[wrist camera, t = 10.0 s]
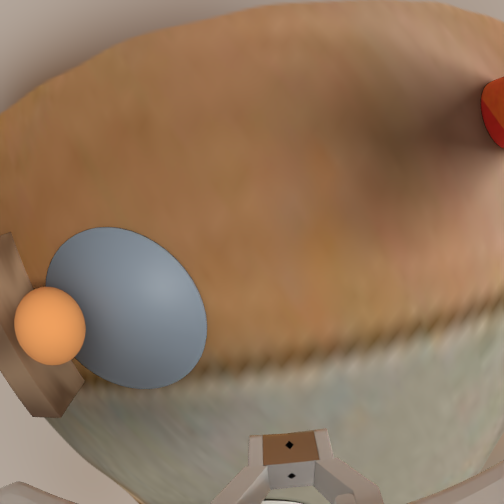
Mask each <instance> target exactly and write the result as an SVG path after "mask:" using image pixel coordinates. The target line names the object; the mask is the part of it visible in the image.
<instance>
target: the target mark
mask: <svg viewBox="0 0 504 504" xmlns="http://www.w3.org/2000/svg"><path fill="white" fill-rule="evenodd" d="M46 287H54V288H58V289H60V290H63V291H64V292H66V293H67V294H69V295H70V296H71V297H72V298H73V299H74V300H75V301H76V302H77V304H78V305H79V307H80V309H81V311H82V313H83V316H84V319H85V325H86V333H85V339H84V343H83V345H82V347H81V349H80V351H79V352H78V354H77V355H76V356H75V358H76V359H77V360H78V361H79V362H80V363H81V364H82V365H84V366H85V367H86V368H87V369H89V370H90V371H92V372H93V373H95V374H96V375H98V376H100V377H101V378H103V379H105V380H108V381H110V382H112V383H115V384H118V385H121V386H125V387H130V388H137V389H153V388H160V387H164V386H168V385H170V384H172V383H175V382H177V381H178V380H180V379H182V378H183V377H185V376H186V375H187V374H188V373H189V372H190V371H191V370H192V369H193V368H194V367H195V365H196V364H197V362H198V361H199V359H200V357H201V355H202V352H203V350H204V347H205V342H206V337H207V320H206V313H205V308H204V304H203V301H202V299H201V296H200V293H199V291H198V289H197V287H196V285H195V284H194V282H193V280H192V278H191V277H190V275H189V274H188V273H187V271H186V270H185V268H184V267H183V266H182V265H181V264H180V263H179V262H178V260H177V259H176V258H175V257H173V256H172V255H171V254H170V253H169V252H168V251H167V250H166V249H164V248H163V247H161V246H160V245H159V244H157V243H156V242H154V241H152V240H151V239H149V238H147V237H145V236H143V235H141V234H138V233H135V232H133V231H130V230H126V229H121V228H114V227H99V228H93V229H89V230H86V231H83V232H81V233H78V234H76V235H75V236H73V237H72V238H70V239H68V240H67V241H66V242H65V243H64V244H63V245H62V246H61V247H60V248H59V250H58V251H57V252H56V253H55V255H54V257H53V259H52V261H51V263H50V266H49V269H48V272H47V277H46Z"/></svg>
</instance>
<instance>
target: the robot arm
mask: <svg viewBox="0 0 504 504" xmlns="http://www.w3.org/2000/svg"><path fill="white" fill-rule="evenodd" d="M311 485H313V486H314V487H315V488H316V489H317V490H318V491H319V492H320V493H321V494H322V495H323V496H324V497H325V498H326V499H327V500H328V501H329V502H330V503H331V504H384V502H383V499H382V496H381V493H380V490H379V487H378V486H377V485H376V484H374V483H373V482H372V481H370V480H369V479H367V478H366V477H364V476H363V475H361V474H360V473H359V472H357V471H356V470H354V469H353V468H352V467H350V466H349V465H347V464H346V463H345V462H343V461H342V460H341V459H339V458H338V457H337V458H334V455H333V451H332V447H331V443H330V439H329V435H328V431H327V429H326V428H325V429H318V430H310V431H302V432H294V433H288V434H272V435H250V436H249V451H248V466H247V467H244V468H243V469H242V470H241V471H240V472H239V473H238V474H237V475H236V476H235V477H234V479H233V480H232V481H231V482H230V483H229V484H228V485H227V486H226V487H225V488H224V489H223V490H222V491H221V492H220V493H219V494H218V495H217V496H216V497H215V498H214V499H213V500H212V501H211V502H210V504H301V503H296V502H288V501H263V500H264V499H265V497H266V496H267V494H268V493H269V491H270V489H280V488H290V487H301V486H311ZM0 504H77V503H74V502H71V501H68V500H65V499H63V498H60V497H57V496H55V495H52V494H50V493H47V492H44V491H42V490H40V489H38V488H35V487H33V486H31V485H29V484H26V483H23V482H15V483H12V484H9V485H7V486H5V487H2V488H0ZM407 504H504V460H503V461H501V462H500V463H498V464H496V465H494V466H492V467H491V468H488V469H487V470H485V471H483V472H481V473H479V474H477V475H475V476H473V477H471V478H469V479H467V480H465V481H463V482H460V483H458V484H456V485H454V486H452V487H449V488H447V489H445V490H442V491H440V492H437V493H435V494H432V495H429V496H427V497H424V498H421V499H419V500H416V501H413V502H410V503H407Z"/></svg>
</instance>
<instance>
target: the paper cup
mask: <svg viewBox="0 0 504 504" xmlns="http://www.w3.org/2000/svg"><path fill="white" fill-rule="evenodd" d="M481 111H482V117H483V120H484V123H485V126H486V129H487V131H488V133H489V135H490V136H491V138H492V139H493V140H494V142H495V143H496V144H497V145H498V146H500V147H501V148H503V149H504V77H502V78H499V79H496V80H494V81H492V82H490V83H488V84H487V85H486V86H485V88H484V89H483V92H482V96H481Z"/></svg>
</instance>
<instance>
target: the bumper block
mask: <svg viewBox="0 0 504 504" xmlns="http://www.w3.org/2000/svg"><path fill="white" fill-rule="evenodd" d="M32 290H34V289H33V287H32V284H31V282H30V280H29V278H28V275H27V273H26V270H25V268H24V266H23V263H22V261H21V258H20V256H19V253H18V250H17V248H16V245H15V242H14V240H13V237H12V234H11V232H9V233H7V234H4V235H2V236H0V371H1V373H2V374H3V376H4V377H5V379H6V380H7V382H8V383H9V385H10V386H11V388H12V389H13V391H14V392H15V393H16V395H17V396H18V398H19V399H20V401H21V402H22V403H23V405H24V406H25V407H26V409H27V410H28V411H29V413H30V414H31V415H32V416H33V417H51V418H61V417H62V415H63V414H64V412H65V411H66V409H67V407H68V406H69V404H70V403H71V401H72V400H73V398H74V397H75V395H76V394H77V392H78V391H79V389H80V388H81V386H82V385H83V383H84V382H85V381H84V379H83V378H82V376H81V375H80V373H79V372H78V370H77V368H76V367H75V365H74V364H73V362H72V360H70V361H68V362H66V363H64V364H60V365H45V364H42V363H39V362H37V361H35V360H34V359H32V358H31V357H30V356H28V355H27V354H26V352H25V351H24V350H23V349H22V347H21V346H20V344H19V342H18V340H17V337H16V333H15V328H14V318H15V313H16V309H17V307H18V305H19V303H20V301H21V300H22V299H23V297H24V296H25V295H26V294H28V293H29V292H30V291H32Z"/></svg>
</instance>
